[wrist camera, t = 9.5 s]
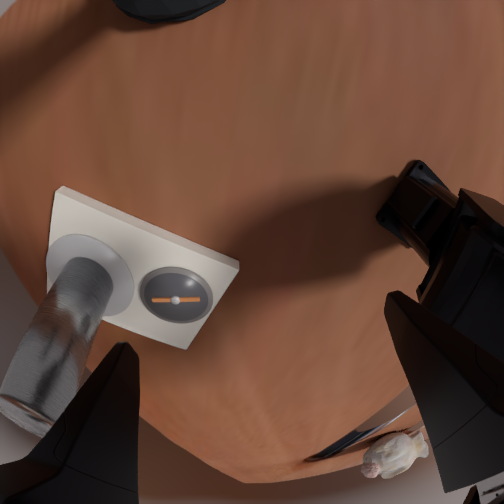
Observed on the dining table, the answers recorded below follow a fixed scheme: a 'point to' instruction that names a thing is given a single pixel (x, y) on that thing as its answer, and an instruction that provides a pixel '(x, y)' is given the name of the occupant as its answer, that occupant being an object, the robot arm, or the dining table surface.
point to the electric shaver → (165, 9)
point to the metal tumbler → (56, 347)
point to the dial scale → (140, 268)
